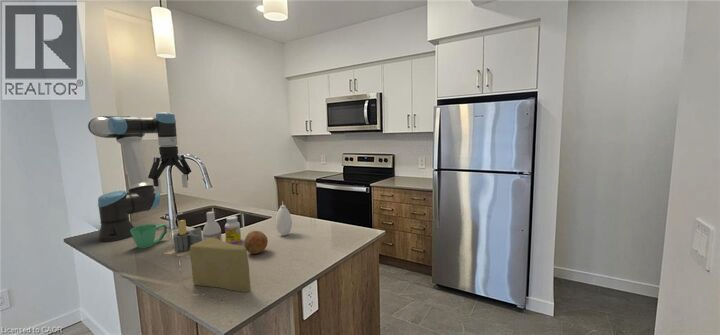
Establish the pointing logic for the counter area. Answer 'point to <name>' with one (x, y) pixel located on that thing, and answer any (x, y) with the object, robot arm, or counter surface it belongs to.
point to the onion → (255, 242)
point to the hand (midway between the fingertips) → (172, 190)
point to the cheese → (220, 265)
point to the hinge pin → (182, 227)
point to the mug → (147, 235)
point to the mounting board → (178, 253)
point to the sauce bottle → (283, 220)
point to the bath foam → (211, 228)
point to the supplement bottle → (232, 230)
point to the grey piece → (187, 240)
